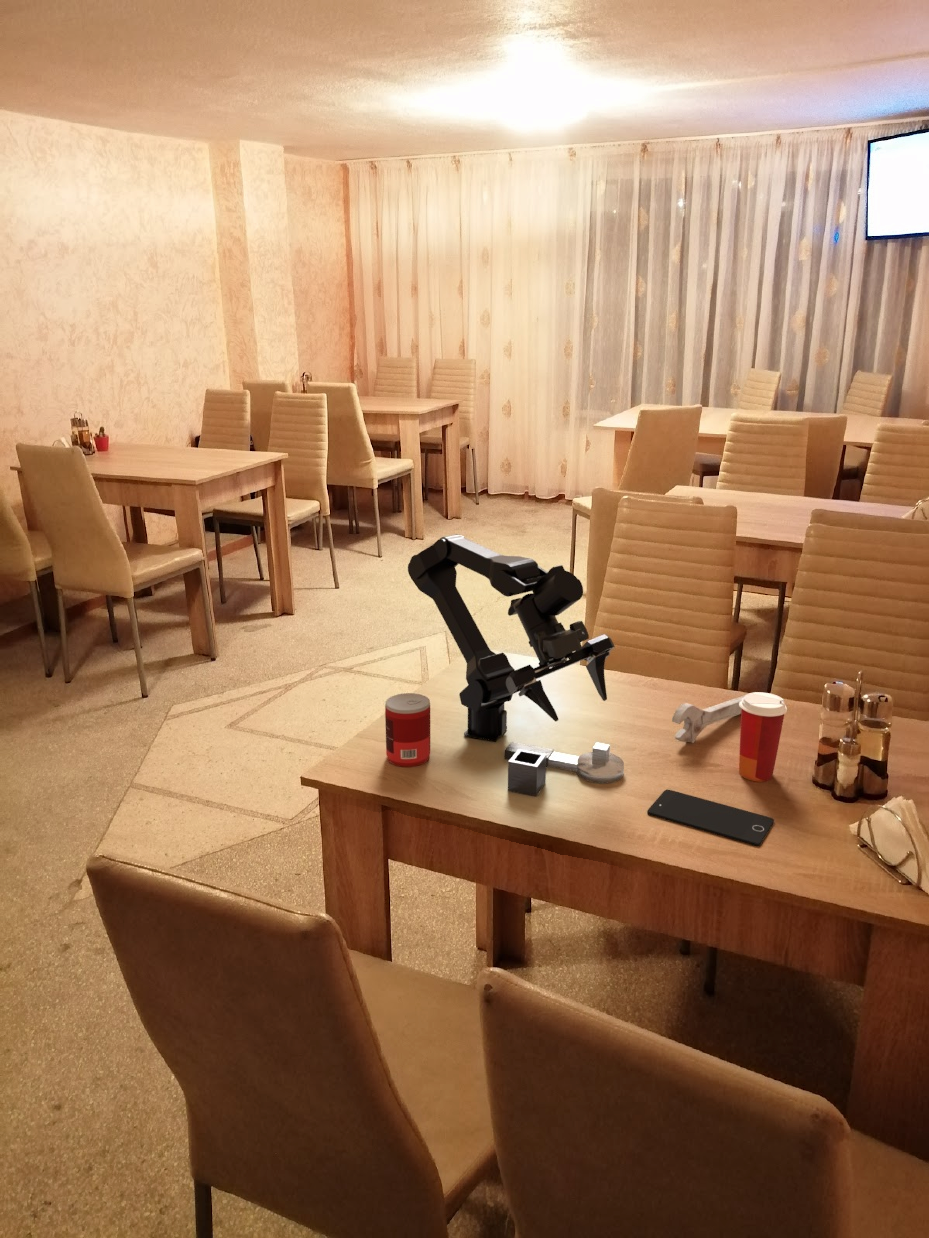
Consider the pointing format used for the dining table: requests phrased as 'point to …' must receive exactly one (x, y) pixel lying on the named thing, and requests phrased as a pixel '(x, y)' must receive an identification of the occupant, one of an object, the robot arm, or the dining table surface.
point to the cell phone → (711, 817)
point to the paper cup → (760, 734)
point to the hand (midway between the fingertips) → (581, 710)
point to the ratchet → (579, 762)
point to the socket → (527, 772)
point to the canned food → (407, 729)
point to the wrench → (702, 717)
